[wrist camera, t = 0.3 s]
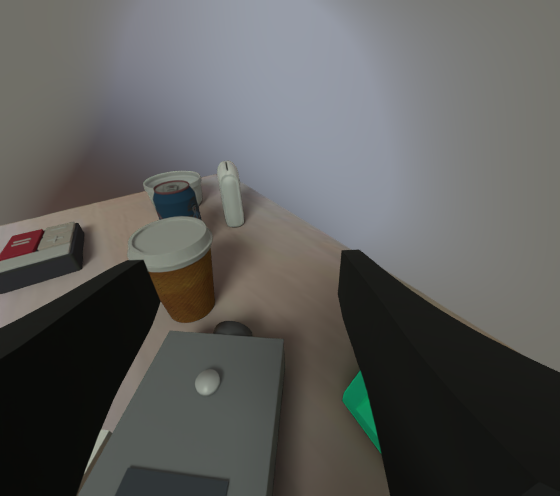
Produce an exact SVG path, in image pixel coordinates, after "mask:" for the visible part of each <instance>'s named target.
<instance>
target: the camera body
mask: <svg viewBox="0 0 560 496" xmlns="http://www.w3.org/2000/svg"><path fill="white" fill-rule="evenodd" d="M284 370H285V359H284V339H274V338H261V337H253V335H252V332H251V330H250V329H249V328H248V327H246V326H245V325H243V324H241V323H239V322H235V321H224V322H221V323H219V324H218V325H217V326H216V327H215V330H214V332H213V334H207V333H194V332H181V331H169V333H168V335H167V337H166V338H165V340H164V342H163V344H162V346H161V347H160V349H159V351H158V353H157V354H156V356H155V358H154V360H153V362H152V363H151V365H150V367H149V369H148V371H147V372H146V374H145V376H144V378H143V379H142V381H141V383H140V385H139V387H138V388H137V390H136V392H135V394H134V396H133V397H132V399H131V401H130V403H129V405H128V406H127V408H126V410H125V412H124V413H123V415H122V417H121V419H120V421H119V422H118V424H117V426H116V428H115V430H114V431H113V433H112V435H111V437H110V438H109V440H108V442H107V444H106V446H105V447H104V449H103V451H102V453H101V455H100V456H99V458H98V460H97V462H96V464H95V465H94V467H93V469H92V471H91V472H90V474H89V476H88V478H87V480H86V481H85V483H84V485H83V487H82V489H81V490H80V492H79V494H78V496H272V492H273V482H274V472H275V462H276V452H277V441H278V431H279V421H280V411H281V401H282V391H283V380H284Z"/></svg>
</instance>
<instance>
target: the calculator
mask: <svg viewBox="0 0 560 496" xmlns="http://www.w3.org/2000/svg"><path fill="white" fill-rule="evenodd" d="M83 245H84V232H83V231H82V229H81V227H80V225H79V223H74V222H70V223H66V224H62V225H58V226H53V227H49V228H46V230H45V231H43V229H41V230H36V231H32V232H28V233H23V234H19V235H15V236H12V237H11V239H10V240H9V242H8V243H7V245H6V246H5V248H4V249H3V251H2V252H1V254H0V294H3V293H7V292H10V291H13V290H17V289H20V288H23V287H26V286H30V285H33V284H36V283H40V282H43V281H46V280H49V279H53V278H56V277H59V276H63V275H66V274H69V273H72V272H76V271H79V270H81V269H82V264H83V256H82V253H83Z"/></svg>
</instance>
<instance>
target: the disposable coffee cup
mask: <svg viewBox="0 0 560 496" xmlns="http://www.w3.org/2000/svg"><path fill="white" fill-rule="evenodd" d="M212 238H213V236H212V233H211V231H210V230H209V229H208V228H207V227H206V225H205V223H204V222H203V221H201V220H200V219H197V218H193V217H184V216H180V217H170V218H166V219H161V220H157V221H155V222H152V223H149V224H147V225H145V226H143V227H142V228H140V229H138V230H137V231H136V232H134V233H133V234H132V236H131V237H130V238H129V241H128V248H129V249H128V254H127V256H128V259H129V260H144V262H145V264H146V267H147V269H148V272H149V274H150V276H151V279H152V281H153V284H154V286H155V289H156V291H157V294H158V296H159V299H160V301H161V302H162V304H163V305H164V307H165V308H166V310H167V311H168V313H169V314H170V316H171V317H172V319H173V320H175V321H177V322H182V323H188V322H194V321H197V320H199V319H201V318H203V317H205V316H206V315H207V314H208V313H209V312H210V311H211V310H212V308H213V306H214V303H215V298H214V286H213V273H212V260H211V248H210V247H211V243H212Z"/></svg>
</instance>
